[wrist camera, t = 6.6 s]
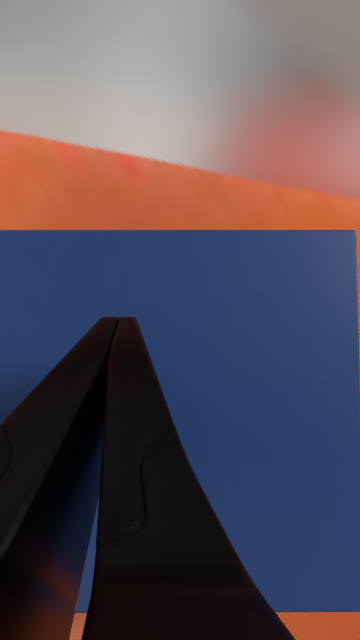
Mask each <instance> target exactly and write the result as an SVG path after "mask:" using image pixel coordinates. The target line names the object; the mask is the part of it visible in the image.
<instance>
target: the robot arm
mask: <svg viewBox="0 0 360 640" xmlns="http://www.w3.org/2000/svg"><path fill="white" fill-rule="evenodd" d="M98 499H99V505H98V520H97V535H96V549H97V550H96V553H95V565H94V575H93V583H92V591H91V597H90V602H89V607H88V611H87V616H86V621H85V625H84V630H83V635H82V639H81V640H295V638H294V637H293V636H292V634H291V633H290V632H289V630H288V629H287V628H286V626H285V625H284V624H283V622H282V621H281V620H280V618H279V617H278V615H277V614H276V613H275V611H274V610H273V609H272V607H271V606H270V605H269V603H268V602H267V601H266V599H265V598H264V597H263V595H262V594H261V592H260V591H259V589H258V588H257V586H256V585H255V583H254V582H253V580H252V578H251V577H250V575H249V574H248V572H247V570H246V569H245V567H244V565H243V563H242V562H241V560H240V558H239V556H238V555H237V553H236V551H235V549H234V547H233V545H232V544H231V542H230V540H229V538H228V536H227V534H226V532H225V530H224V528H223V527H222V525H221V523H220V521H219V519H218V517H217V515H216V513H215V511H214V510H213V508H212V506H211V504H210V502H209V500H208V498H207V496H206V494H205V492H204V491H203V489H202V487H201V485H200V483H199V481H198V479H197V477H196V475H195V472H194V470H193V468H192V466H191V464H190V462H189V460H188V457H187V455H186V452H185V450H184V447H183V445H182V442H181V440H180V437H179V435H178V432H177V429H176V426H175V424H174V423H173V418H172V416H171V413H170V410H169V407H168V404H167V402H166V399H165V396H164V393H163V391H162V388H161V385H160V382H159V380H158V377H157V374H156V371H155V368H154V366H153V363H152V360H151V357H150V355H149V352H148V349H147V346H146V343H145V341H144V338H143V335H142V332H141V330H140V327H139V324H138V321H137V319H136V317H120V318H118V317H101V318H100V319H99V320H98V321H97V322H96V323H95V324H94V325H93V326H92V327H91V328H90V330H89V331H88V332H87V333H86V334H85V335H84V336H83V337H82V338H81V339H80V340H79V341H78V342H77V343H76V344H75V345H74V347H73V348H72V349H71V350H70V351H69V352H68V353H67V354H66V355H65V356H64V357H63V358H62V359H61V360H60V361H59V362H58V364H57V365H56V366H55V367H54V368H53V369H52V370H51V371H50V372H49V373H48V374H47V375H46V376H45V377H44V378H43V379H42V381H41V382H40V383H39V384H38V385H37V386H36V387H35V388H34V389H33V390H32V391H31V392H30V393H29V394H28V395H27V396H26V398H25V399H24V400H23V401H22V402H21V403H20V404H19V405H18V406H17V407H16V408H15V409H14V410H13V411H12V412H11V414H10V415H9V416H8V417H7V418H6V419H5V420H4V424H0V640H69V637H70V632H71V627H72V623H73V618H74V613H75V609H74V608H75V607H76V603H77V598H78V594H79V589H80V584H81V579H82V575H83V570H84V565H85V560H86V556H87V551H88V546H89V541H90V537H91V532H92V527H93V522H94V518H95V513H96V508H97V503H98Z"/></svg>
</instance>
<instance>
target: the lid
mask: <svg viewBox="0 0 360 640" xmlns="http://www.w3.org/2000/svg"><path fill="white" fill-rule="evenodd" d="M101 317H118V318H120V317H136V319H137V321H138V324H139V327H140V330H141V332H142V335H143V338H144V341H145V343H146V346H147V349H148V352H149V355H150V357H151V360H152V363H153V366H154V368H155V371H156V374H157V377H158V380H159V382H160V385H161V388H162V391H163V393H164V396H165V399H166V402H167V404H168V407H169V410H170V413H171V416H172V418H173V423H174V424H175V426H176V429H177V432H178V435H179V437H180V440H181V442H182V445H183V447H184V450H185V452H186V455H187V457H188V460H189V462H190V464H191V466H192V468H193V470H194V472H195V475H196V477H197V479H198V481H199V483H200V485H201V487H202V489H203V491H204V492H205V494H206V496H207V498H208V500H209V502H210V504H211V506H212V508H213V510H214V511H215V513H216V515H217V517H218V519H219V521H220V523H221V525H222V527H223V528H224V530H225V532H226V534H227V536H228V538H229V540H230V542H231V544H232V545H233V547H234V549H235V551H236V553H237V555H238V556H239V558H240V560H241V562H242V563H243V565H244V567H245V569H246V570H247V572H248V574H249V575H250V577H251V578H252V580H253V582H254V583H255V585H256V586H257V588H258V589H259V591H260V592H261V594H262V595H263V597H264V598H265V599H266V601H267V602H268V603H269V605H270V606H271V607H272V609H273V610H274V611H275V612H360V370H359V333H358V296H357V259H356V231H354V230H0V424H4V420H5V419H6V418H7V417H8V416H9V415H10V414H11V412H12V411H13V410H14V409H15V408H16V407H17V406H18V405H19V404H20V403H21V402H22V401H23V400H24V399H25V398H26V396H27V395H28V394H29V393H30V392H31V391H32V390H33V389H34V388H35V387H36V386H37V385H38V384H39V383H40V382H41V381H42V379H43V378H44V377H45V376H46V375H47V374H48V373H49V372H50V371H51V370H52V369H53V368H54V367H55V366H56V365H57V364H58V362H59V361H60V360H61V359H62V358H63V357H64V356H65V355H66V354H67V353H68V352H69V351H70V350H71V349H72V348H73V347H74V345H75V344H76V343H77V342H78V341H79V340H80V339H81V338H82V337H83V336H84V335H85V334H86V333H87V332H88V331H89V330H90V328H91V327H92V326H93V325H94V324H95V323H96V322H97V321H98V320H99V319H100V318H101ZM98 505H99V499H98V503H97V508H96V513H95V518H94V522H93V527H92V532H91V537H90V541H89V546H88V551H87V556H86V560H85V565H84V570H83V575H82V579H81V584H80V589H79V594H78V598H77V603H76V607H75V608H74V609H75V613H87V611H88V607H89V602H90V597H91V591H92V583H93V575H94V565H95V553H96V550H97V549H96V535H97V520H98Z"/></svg>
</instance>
